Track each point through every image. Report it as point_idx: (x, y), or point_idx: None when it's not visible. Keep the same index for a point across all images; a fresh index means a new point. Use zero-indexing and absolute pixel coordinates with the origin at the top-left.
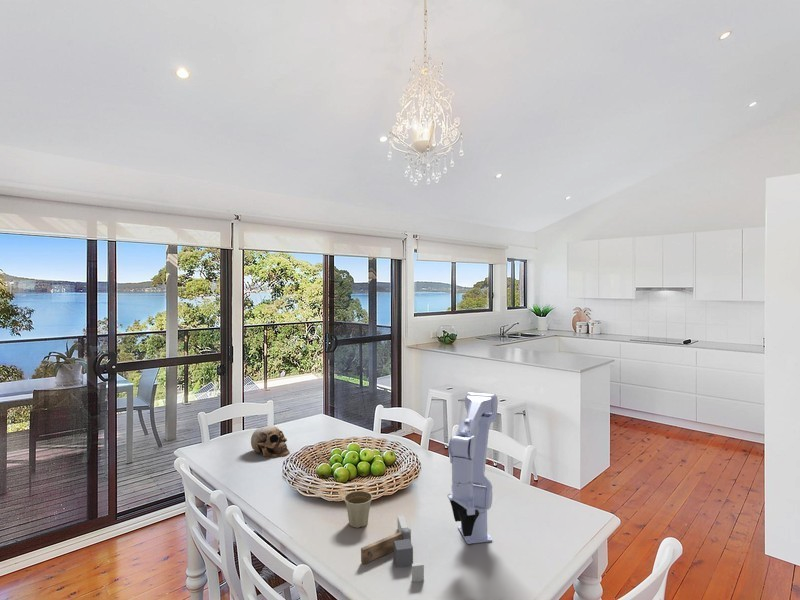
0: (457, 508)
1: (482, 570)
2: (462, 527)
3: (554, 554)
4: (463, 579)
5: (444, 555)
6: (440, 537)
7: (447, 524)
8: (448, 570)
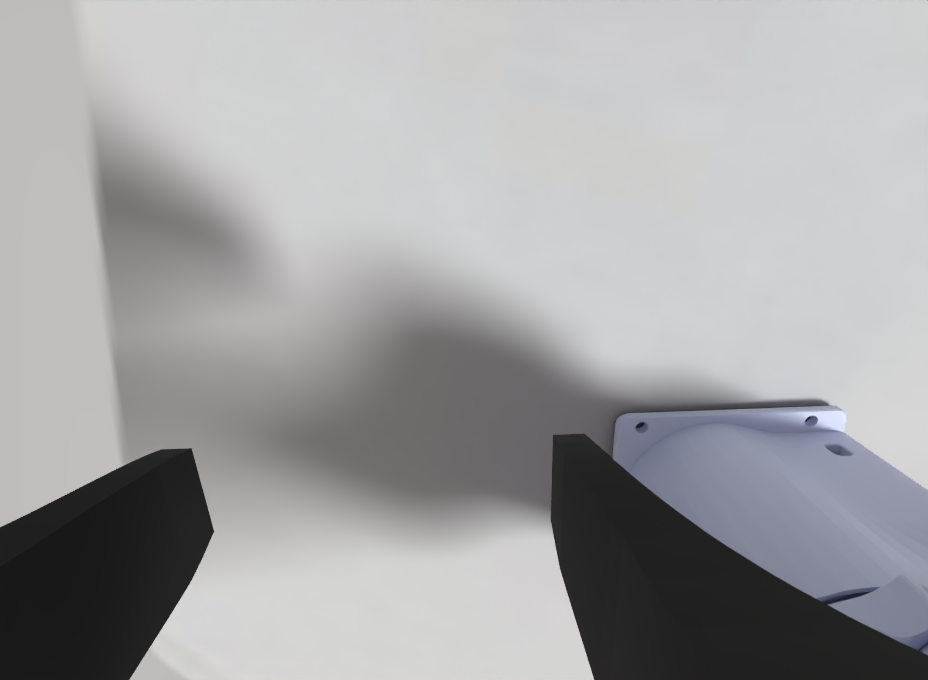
0: (621, 635)
1: (331, 422)
2: (32, 520)
3: None
4: (244, 281)
5: (531, 215)
6: (772, 242)
7: (921, 341)
8: (347, 200)
